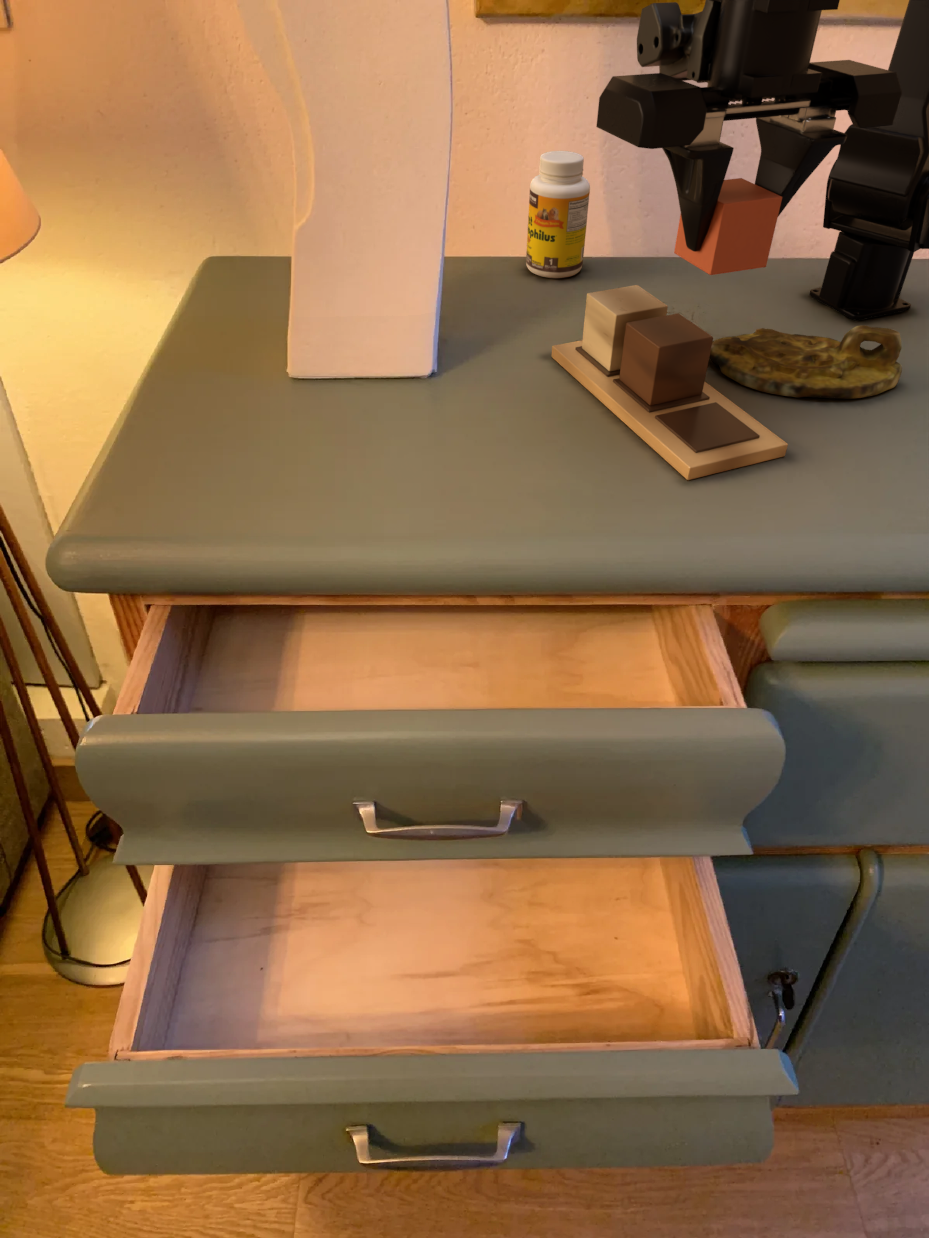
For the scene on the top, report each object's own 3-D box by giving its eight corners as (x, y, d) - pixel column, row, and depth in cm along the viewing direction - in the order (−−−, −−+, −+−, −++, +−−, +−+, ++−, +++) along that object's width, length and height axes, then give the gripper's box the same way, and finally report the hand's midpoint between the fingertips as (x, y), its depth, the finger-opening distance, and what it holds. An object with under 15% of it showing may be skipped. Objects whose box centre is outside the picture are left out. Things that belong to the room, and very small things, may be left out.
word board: (635, 341, 75) (644, 273, 72) (785, 456, 62) (806, 380, 58) (550, 357, 73) (556, 288, 69) (687, 480, 59) (703, 403, 56)
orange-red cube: (727, 245, 63) (741, 177, 61) (766, 267, 60) (782, 196, 57) (673, 253, 62) (685, 184, 59) (710, 275, 59) (724, 204, 56)
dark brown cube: (669, 369, 69) (678, 312, 66) (702, 395, 66) (714, 336, 63) (618, 379, 68) (626, 322, 65) (650, 406, 65) (659, 347, 62)
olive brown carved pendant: (697, 399, 70) (899, 420, 67) (707, 345, 66) (921, 365, 64) (705, 337, 76) (890, 354, 73) (714, 285, 72) (910, 301, 70)
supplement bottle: (514, 267, 88) (518, 154, 81) (557, 255, 90) (565, 144, 83) (550, 285, 84) (558, 168, 78) (594, 272, 87) (605, 158, 80)
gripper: (820, -55, 59) (764, 197, 69) (567, -49, 53) (547, 224, 63) (947, -37, 51) (863, 244, 61) (667, -28, 45) (626, 279, 56)
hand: (723, 245), depth 61 cm, fingers closed on orange-red cube, 4 cm apart
